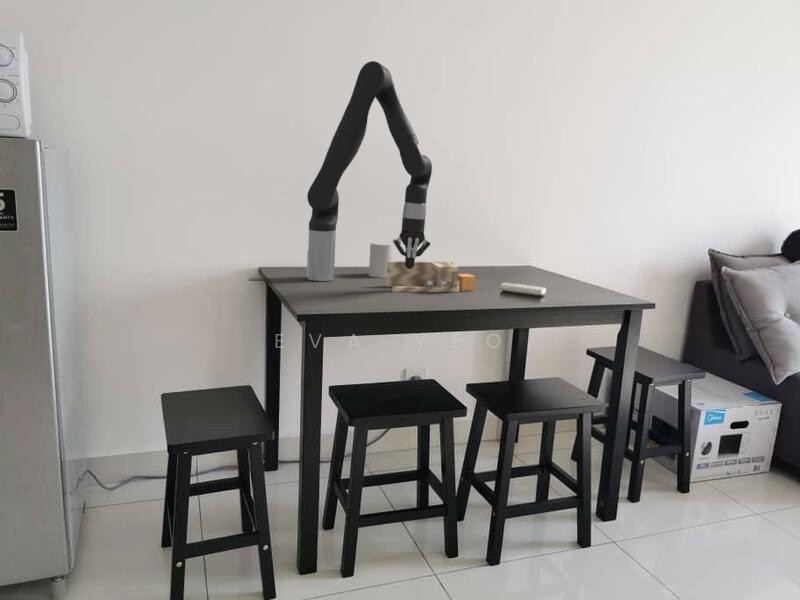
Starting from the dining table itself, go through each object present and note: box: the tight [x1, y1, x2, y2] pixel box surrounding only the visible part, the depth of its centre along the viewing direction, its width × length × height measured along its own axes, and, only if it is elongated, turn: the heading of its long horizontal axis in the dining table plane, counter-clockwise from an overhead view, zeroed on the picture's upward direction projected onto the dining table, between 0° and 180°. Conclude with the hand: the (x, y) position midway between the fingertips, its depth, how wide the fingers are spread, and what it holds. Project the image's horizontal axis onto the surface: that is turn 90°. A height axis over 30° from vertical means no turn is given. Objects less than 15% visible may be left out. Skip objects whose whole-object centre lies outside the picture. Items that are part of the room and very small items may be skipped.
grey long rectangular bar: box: [424, 279, 460, 287], centre depth 214 cm, size 12×3×4 cm, turn 109°
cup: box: [368, 241, 393, 279], centre depth 232 cm, size 8×8×12 cm
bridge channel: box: [385, 260, 461, 293], centre depth 212 cm, size 23×10×8 cm, turn 105°
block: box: [458, 273, 477, 292], centre depth 216 cm, size 5×5×5 cm
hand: (409, 268), depth 210 cm, fingers closed
